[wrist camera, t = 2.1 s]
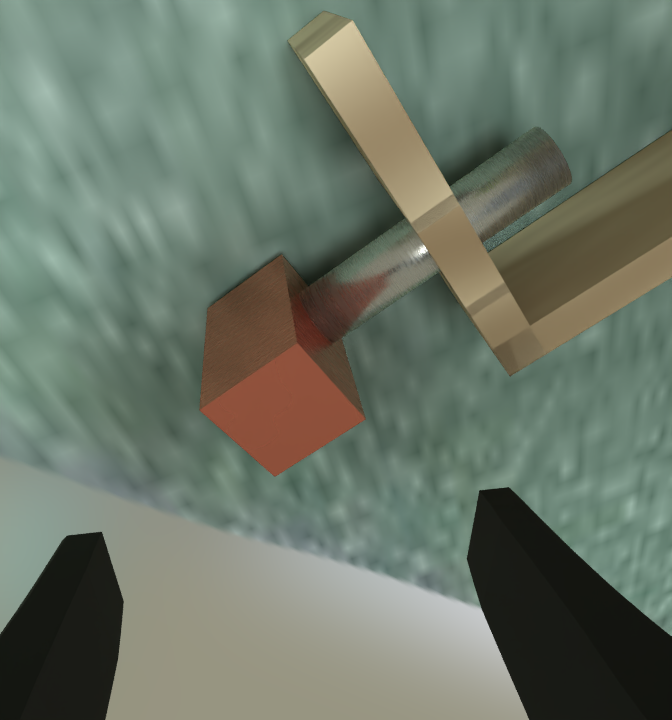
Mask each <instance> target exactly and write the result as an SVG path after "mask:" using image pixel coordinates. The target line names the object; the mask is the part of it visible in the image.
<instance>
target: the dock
mask: <svg viewBox="0 0 672 720" xmlns="http://www.w3.org/2000/svg"><path fill="white" fill-rule="evenodd" d="M288 42H289V44H290V45H291V47H292V48H293V50H294V52H295V53H296V55H297V56H298V58H299V59H300V61H301V62H302V64H303V65H304V67H305V68H306V70H307V71H308V73H309V74H310V76H311V78H312V79H313V81H314V82H315V84H316V85H317V87H318V88H319V90H320V91H321V93H322V94H323V96H324V97H325V99H326V100H327V102H328V104H329V105H330V107H331V108H332V110H333V111H334V113H335V114H336V116H337V117H338V119H339V120H340V122H341V123H342V125H343V126H344V128H345V130H346V131H347V133H348V134H349V136H350V137H351V139H352V140H353V142H354V143H355V145H356V146H357V148H358V149H359V151H360V152H361V154H362V156H363V157H364V159H365V160H366V162H367V163H368V165H369V166H370V168H371V169H372V171H373V172H374V174H375V175H376V177H377V179H378V180H379V182H380V183H381V184H382V186H383V187H384V188H385V190H386V191H387V193H388V194H389V195H390V197H391V198H392V199H393V201H394V202H395V204H396V205H397V206H398V208H399V209H400V210H401V212H402V213H403V215H404V216H405V217H406V219H407V220H408V222H409V223H410V224H411V226H412V227H413V229H414V230H415V232H416V233H417V235H418V236H419V238H420V239H421V241H422V243H423V244H424V246H425V247H426V249H427V250H428V252H429V253H430V255H431V256H432V258H433V259H434V261H435V263H436V264H437V266H438V267H439V269H440V270H441V271H440V272H439V273H440V275H441V276H442V278H443V279H444V281H445V283H446V284H447V286H448V287H449V289H450V290H451V292H452V293H453V295H454V296H455V298H456V299H457V301H458V302H459V304H460V306H461V307H462V308H463V310H464V311H465V313H466V314H467V316H468V317H469V318H470V320H471V321H472V323H473V324H474V326H475V327H476V328H477V330H478V331H479V333H480V334H481V336H482V337H483V338H484V340H485V341H486V343H487V344H488V346H489V347H490V348H491V350H492V351H493V353H494V354H495V356H496V357H497V358H498V360H499V361H500V363H501V364H502V366H503V367H504V368H505V370H506V371H507V373H508V374H509V376H511V375H513V374H515V373H516V372H518V371H520V370H521V369H523V368H524V367H526V366H528V365H529V364H531V363H533V362H534V361H536V360H537V359H539V358H541V357H542V356H544V355H546V354H547V353H549V352H550V351H552V350H554V349H555V348H557V347H559V346H560V345H562V344H564V343H565V342H567V341H568V340H570V339H572V338H573V337H575V336H577V335H578V334H580V333H581V332H583V331H585V330H586V329H588V328H590V327H591V326H593V325H595V324H596V323H598V322H599V321H601V320H603V319H604V318H606V317H608V316H609V315H611V314H612V313H614V312H616V311H617V310H619V309H621V308H622V307H624V306H626V305H627V304H629V303H630V302H632V301H634V300H635V299H637V298H639V297H640V296H642V295H643V294H645V293H647V292H648V291H650V290H652V289H653V288H655V287H657V286H658V285H660V284H661V283H663V282H665V281H666V280H668V279H670V278H671V277H672V130H671V131H669V132H668V133H666V134H665V135H663V136H662V137H660V138H659V139H657V140H656V141H654V142H653V143H651V144H650V145H648V146H647V147H645V148H644V149H642V150H641V151H640V152H638V153H637V154H635V155H634V156H632V157H631V158H629V159H628V160H626V161H625V162H623V163H622V164H620V165H619V166H617V167H616V168H614V169H613V170H611V171H610V172H608V173H607V174H605V175H604V176H602V177H601V178H599V179H598V180H596V181H595V182H593V183H592V184H590V185H589V186H587V187H586V188H584V189H583V190H581V191H580V192H578V193H577V194H575V195H574V196H572V197H571V198H569V199H568V200H566V201H565V202H563V203H562V204H560V205H559V206H557V207H556V208H554V209H553V210H551V211H550V212H548V213H547V214H545V215H544V216H542V217H541V218H539V219H538V220H536V221H535V222H533V223H532V224H530V225H529V226H527V227H526V228H524V229H523V230H521V231H520V232H518V233H517V234H515V235H514V236H512V237H511V238H509V239H508V240H506V241H505V242H503V243H502V244H501V245H499V246H498V247H496V248H495V249H493V250H492V251H490V252H489V253H487V251H486V249H485V247H484V246H483V244H482V242H481V241H480V239H479V237H478V235H477V234H476V232H475V230H474V229H473V227H472V225H471V223H470V222H469V220H468V218H467V216H466V215H465V213H464V211H463V210H462V208H461V206H460V204H459V203H458V201H457V199H456V198H455V196H454V194H453V192H452V191H451V189H450V187H449V185H448V184H447V182H446V180H445V179H444V177H443V175H442V173H441V172H440V170H439V168H438V167H437V165H436V163H435V161H434V160H433V158H432V156H431V154H430V153H429V151H428V149H427V148H426V146H425V144H424V142H423V141H422V139H421V137H420V136H419V134H418V132H417V130H416V129H415V127H414V125H413V123H412V122H411V120H410V118H409V117H408V115H407V113H406V111H405V110H404V108H403V106H402V105H401V103H400V101H399V99H398V98H397V96H396V94H395V92H394V91H393V89H392V87H391V86H390V84H389V82H388V80H387V79H386V77H385V75H384V74H383V72H382V70H381V68H380V67H379V65H378V63H377V62H376V60H375V58H374V56H373V55H372V53H371V51H370V49H369V48H368V46H367V44H366V43H365V41H364V39H363V37H362V36H361V34H360V32H359V31H358V29H357V27H356V25H355V24H354V22H353V20H350V19H347V18H344V17H341V16H338V15H335V14H332V13H329V12H326V11H323V12H322V13H320V14H319V15H318V16H317V17H316V18H314V19H313V20H312V21H311V22H310V23H308V24H307V25H306V26H305V27H303V28H302V29H301V30H300V31H299V32H297V33H296V34H295V35H294V36H293V37H291V38H290V39H289V40H288Z"/></svg>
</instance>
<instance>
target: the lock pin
mask: <svg viewBox="0 0 672 720" xmlns="http://www.w3.org/2000/svg"><path fill="white" fill-rule="evenodd" d="M571 182H572V176H571V172H570V169H569V167H568V164H567V162H566V160H565V158H564V156H563V154H562V153H561V151H560V150H559V148H558V147H557V145H556V144H555V142H554V141H553V140H552V139H551V137H550V136H549V135H548V134H547V133H546V132H545V131H544V130H542V129H541V128H539V127H536V126H535V127H533V128H532V129H530V130H529V131H528V132H526V133H525V134H523V135H522V136H521V137H519V138H518V139H516V140H515V141H513V142H512V143H511V144H509V145H508V146H506V147H505V148H504V149H502V150H501V151H499V152H498V153H496V154H495V155H494V156H492V157H491V158H489V159H488V160H487V161H485V162H484V163H482V164H481V165H479V166H478V167H477V168H475V169H474V170H472V171H471V172H470V173H468V174H467V175H465V176H464V177H463V178H461V179H460V180H458V181H457V182H455V183H454V184H453V185H451V186H450V189H451V191H452V192H453V194H454V196H455V198H456V199H457V201H458V203H459V204H460V206H461V208H462V210H463V211H464V213H465V215H466V216H467V218H468V220H469V222H470V223H471V225H472V227H473V229H474V230H475V232H476V234H477V235H478V237H479V239H480V241H481V242H482V243H483V242H485V241H486V240H488V239H489V238H491V237H492V236H494V235H495V234H497V233H498V232H500V231H501V230H502V229H504V228H505V227H507V226H508V225H510V224H511V223H513V222H514V221H516V220H517V219H519V218H520V217H522V216H523V215H525V214H526V213H528V212H529V211H531V210H532V209H534V208H535V207H537V206H538V205H540V204H541V203H543V202H544V201H545V200H547V199H548V198H550V197H551V196H553V195H554V194H556V193H557V192H559V191H560V190H562V189H563V188H565V187H566V186H568V185H569V184H570V183H571ZM440 271H441V270H440V269H439V267H438V266H437V264H436V263H435V261H434V259H433V258H432V256H431V255H430V253H429V252H428V250H427V249H426V247H425V246H424V244H423V243H422V241H421V239H420V238H419V236H418V235H417V233H416V232H415V230H414V229H413V227H412V226H411V224H410V223H409V222H408V220H407V219H406V218H405V219H403V220H402V221H400V222H399V223H397V224H396V225H395V226H393V227H392V228H390V229H389V230H388V231H386V232H385V233H383V234H382V235H380V236H379V237H378V238H376V239H375V240H373V241H372V242H371V243H369V244H368V245H366V246H365V247H364V248H362V249H361V250H359V251H358V252H356V253H355V254H354V255H352V256H351V257H349V258H348V259H347V260H345V261H344V262H342V263H341V264H339V265H338V266H337V267H335V268H334V269H332V270H331V271H330V272H328V273H327V274H325V275H324V276H323V277H321V278H320V279H318V280H317V281H315V282H314V283H313V284H311V285H310V286H308V285H307V284H306V283H305V282H304V281H303V279H302V278H301V277H300V276H299V275H298V273H297V272H296V271H295V270H294V269H293V267H292V266H291V265H290V264H289V262H288V261H287V260H286V259H285V258H284V256H283V255H282V254H281V255H280V256H279V257H277V258H276V259H274V260H273V261H272V262H270V263H269V264H268V265H266V266H265V267H264V268H262V269H261V270H259V271H258V272H257V273H255V274H254V275H253V276H251V277H250V278H248V279H247V280H246V281H244V282H243V283H242V284H240V285H239V286H237V287H236V288H235V289H233V290H232V291H231V292H229V293H228V294H227V295H225V296H224V297H222V298H221V299H220V300H218V301H217V302H216V303H214V304H213V305H211V306H210V307H209V308H208V310H207V322H206V335H205V347H204V360H203V372H202V385H201V397H200V409H199V410H200V411H201V412H202V413H203V414H204V415H206V416H207V417H208V418H209V419H210V420H211V421H212V422H213V423H215V424H216V425H217V426H218V427H219V428H220V429H221V430H223V431H224V432H225V433H226V434H227V435H228V436H229V437H230V438H232V439H233V440H234V441H235V442H236V443H237V444H238V445H239V446H241V447H242V448H243V449H244V450H245V451H246V452H247V453H249V454H250V455H251V456H252V457H253V458H254V459H255V460H256V461H258V462H259V463H260V464H261V465H262V466H263V467H264V468H266V469H267V470H268V471H269V472H270V473H271V474H272V475H273V476H277V475H278V474H280V473H281V472H283V471H285V470H286V469H288V468H289V467H291V466H293V465H294V464H296V463H297V462H299V461H300V460H302V459H304V458H305V457H307V456H308V455H310V454H311V453H313V452H315V451H316V450H318V449H319V448H321V447H323V446H324V445H326V444H327V443H329V442H330V441H332V440H334V439H335V438H337V437H338V436H340V435H342V434H343V433H345V432H346V431H348V430H349V429H351V428H353V427H354V426H356V425H357V424H359V423H360V422H362V421H364V420H365V419H366V418H365V415H364V411H363V408H362V405H361V401H360V398H359V395H358V391H357V388H356V385H355V381H354V378H353V375H352V371H351V368H350V365H349V362H348V358H347V355H346V352H345V348H344V345H343V342H342V337H344V336H345V335H347V334H348V333H350V332H351V331H353V330H354V329H356V328H357V327H359V326H360V325H362V324H363V323H365V322H366V321H368V320H369V319H371V318H372V317H374V316H375V315H376V314H378V313H379V312H381V311H382V310H384V309H385V308H387V307H388V306H390V305H391V304H393V303H394V302H396V301H397V300H399V299H400V298H402V297H403V296H405V295H406V294H408V293H409V292H411V291H412V290H414V289H415V288H416V287H418V286H419V285H421V284H422V283H424V282H425V281H427V280H428V279H430V278H431V277H433V276H434V275H436V274H437V273H439V272H440Z"/></svg>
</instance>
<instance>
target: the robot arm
mask: <svg viewBox="0 0 672 720" xmlns="http://www.w3.org/2000/svg"><path fill="white" fill-rule="evenodd" d="M467 561H468V565H469V568H470V572H471V575H472V579H473V582H474V585H475V589H476V592H477V595H478V598H479V602H480V605H481V608H482V611H483V613H484V615H485V618H486V620H487V623H488V625H489V627H490V630H491V632H492V634H493V637H494V639H495V641H496V644H497V646H498V648H499V651H500V653H501V655H502V658H503V660H504V662H505V664H506V667H507V669H508V672H509V674H510V676H511V679H512V681H513V683H514V685H515V688H516V690H517V692H518V695H519V697H520V699H521V702H522V704H523V706H524V708H525V710H526V713H527V715H528V718H529V720H672V636H670V635H669V634H668V633H667V632H665V631H664V630H663V629H662V628H660V627H659V626H658V625H657V624H655V623H654V622H653V621H652V620H650V619H649V618H648V617H647V616H646V615H644V614H643V613H642V612H641V611H640V610H639V609H637V608H636V607H635V606H634V605H633V604H632V603H630V602H629V601H628V600H627V599H626V598H624V597H623V596H622V595H621V594H620V593H619V592H618V591H616V590H615V589H614V588H613V587H612V586H611V585H610V584H609V583H607V582H606V581H605V580H604V579H603V578H602V577H601V576H600V575H599V574H598V573H597V572H596V571H594V570H593V569H592V568H591V567H590V566H589V565H588V564H587V563H586V562H585V561H584V560H583V559H582V558H580V557H579V556H578V555H577V554H576V553H575V552H574V551H573V550H572V549H571V548H570V547H569V546H568V545H567V544H566V543H565V542H564V541H563V540H562V539H561V538H560V537H559V536H558V535H557V534H556V533H555V532H554V531H553V530H552V529H550V528H549V527H548V526H547V525H546V524H545V523H544V522H543V521H542V520H541V519H540V518H539V517H538V516H537V515H536V514H535V513H534V512H533V511H532V510H531V509H530V508H529V507H528V505H527V504H526V503H525V502H524V501H523V500H522V499H521V498H520V497H519V496H518V495H517V494H515V493H514V492H513V491H512V490H511V489H510V488H509V487H507V488H498V489H489V490H480V491H479V496H478V501H477V507H476V512H475V518H474V523H473V528H472V534H471V539H470V545H469V550H468V555H467ZM123 603H124V601H123V598H122V595H121V591H120V588H119V585H118V582H117V579H116V575H115V572H114V569H113V566H112V563H111V560H110V556H109V553H108V550H107V547H106V544H105V540H104V537H103V534H102V532H96V533H86V534H78V535H69V536H66V537H65V538H64V539H63V540H62V542H61V544H60V545H59V547H58V548H57V550H56V551H55V553H54V555H53V556H52V558H51V559H50V561H49V562H48V564H47V565H46V567H45V569H44V570H43V572H42V573H41V575H40V576H39V578H38V580H37V581H36V583H35V584H34V586H33V587H32V589H31V590H30V592H29V593H28V595H27V596H26V598H25V599H24V601H23V602H22V604H21V605H20V607H19V608H18V610H17V611H16V613H15V614H14V615H13V617H12V618H11V620H10V621H9V622H8V624H7V625H6V627H5V628H4V630H3V631H2V632H1V634H0V720H105V718H106V714H107V709H108V704H109V699H110V695H111V690H112V685H113V681H114V676H115V671H116V666H117V661H118V653H119V645H120V636H121V625H122V614H123Z"/></svg>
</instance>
